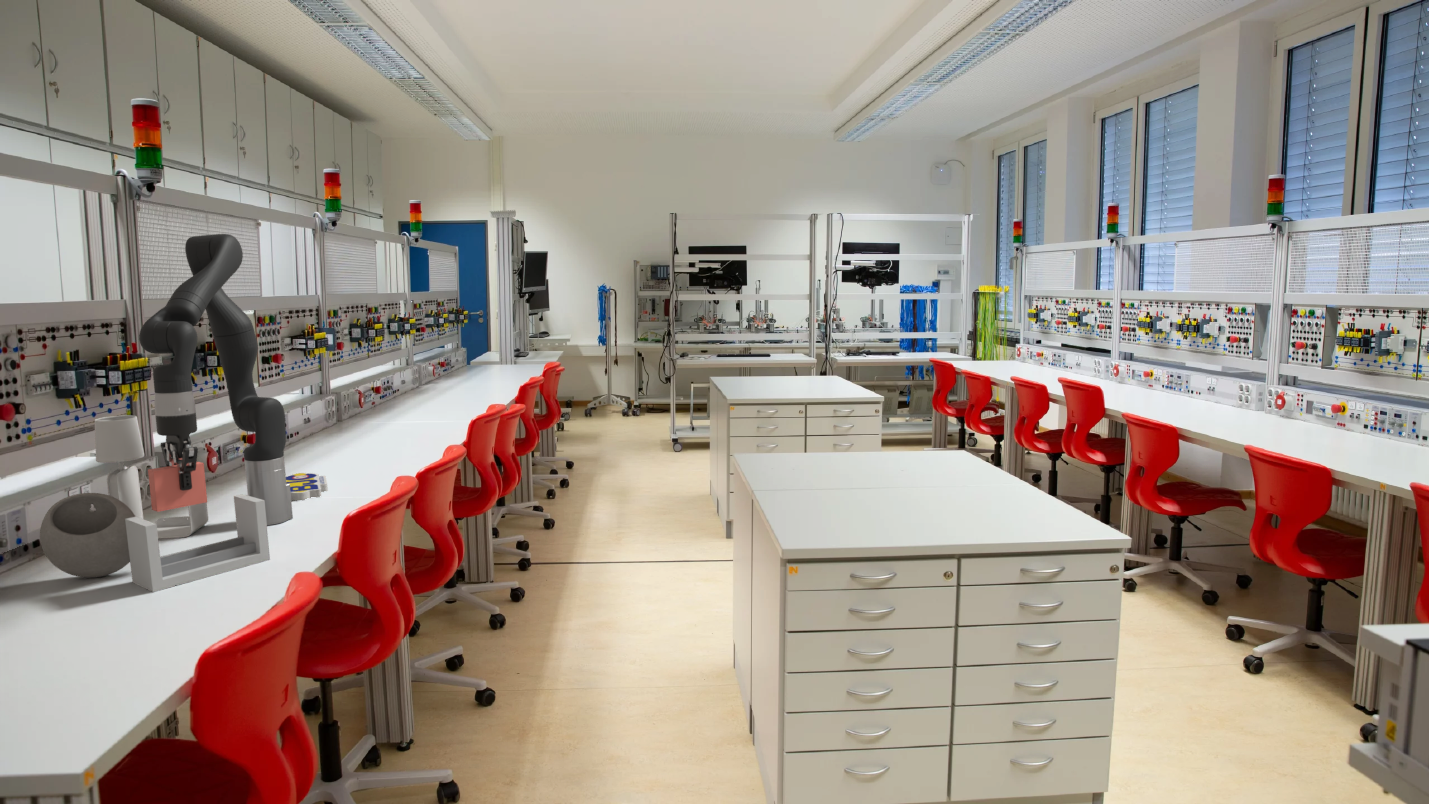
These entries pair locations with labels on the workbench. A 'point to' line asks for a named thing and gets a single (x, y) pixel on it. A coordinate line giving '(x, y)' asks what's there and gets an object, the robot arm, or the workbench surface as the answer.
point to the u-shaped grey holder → (198, 549)
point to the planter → (86, 535)
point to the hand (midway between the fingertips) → (182, 488)
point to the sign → (306, 485)
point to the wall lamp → (124, 443)
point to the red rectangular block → (175, 488)
